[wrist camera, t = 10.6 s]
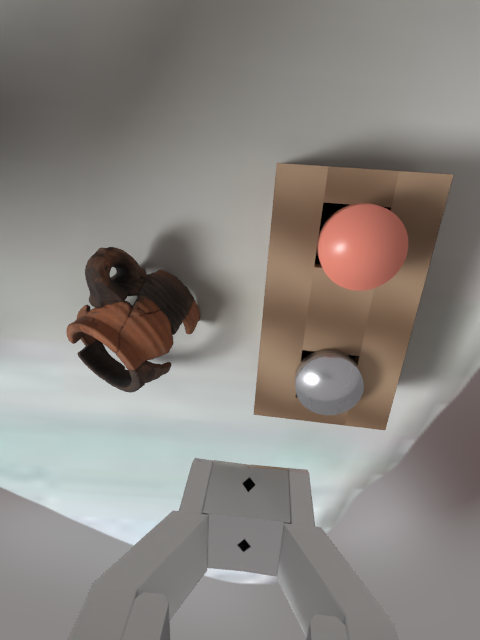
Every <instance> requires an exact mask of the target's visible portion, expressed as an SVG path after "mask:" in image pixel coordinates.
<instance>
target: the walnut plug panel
mask: <svg viewBox="0 0 480 640" xmlns="http://www.w3.org/2000/svg"><path fill="white" fill-rule="evenodd" d="M452 179H453V175H452V174H437V173H421V172H406V171H391V170H375V169H360V168H345V167H329V166H314V165H299V164H283V163H277V167H276V178H275V189H274V200H273V211H272V221H271V232H270V243H269V254H268V265H267V276H266V286H265V297H264V308H263V319H262V330H261V341H260V351H259V362H258V373H257V384H256V395H255V406H254V415H262V416H270V417H279V418H287V419H296V420H304V421H312V422H321V423H329V424H338V425H346V426H354V427H363V428H371V429H379V430H385V429H386V425H387V422H388V418H389V414H390V410H391V407H392V403H393V399H394V395H395V392H396V388H397V384H398V380H399V377H400V373H401V369H402V366H403V362H404V358H405V354H406V351H407V347H408V343H409V339H410V336H411V332H412V328H413V324H414V321H415V317H416V313H417V309H418V306H419V302H420V298H421V295H422V291H423V287H424V283H425V280H426V276H427V272H428V268H429V265H430V261H431V257H432V253H433V250H434V246H435V242H436V238H437V235H438V231H439V227H440V224H441V220H442V216H443V212H444V209H445V205H446V201H447V197H448V194H449V190H450V186H451V182H452ZM323 202H324V203H338V204H356V203H371V204H375V205H378V206H381V207H387V209H388V210H390V211H391V212H393V213H394V214H395V215H396V216H398V218H399V219H400V220H401V221H402V223H403V224H404V226H405V229H406V231H407V235H408V252H407V256H406V259H405V261H404V263H403V265H402V267H401V268H400V270H399V271H398V272H397V274H396V275H395V276H394V277H393V278H391V279H390V280H389V281H388V282H386V283H384V284H383V285H381V286H379V287H376V288H373V289H370V290H363V291H355V290H349V289H345V288H343V287H341V286H339V285H337V284H335V283H334V282H333V281H332V280H331V279H330V278H329V277H328V276H327V275H326V273H325V272H324V270H323V268H322V266H321V264H315V258H316V251H317V244H318V237H319V230H320V223H321V216H322V209H323ZM302 350H307V351H316V352H317V351H322V350H335V351H339V352H342V353H345V354H346V355H355V356H356V357H355V363H356V364H357V366H358V368H359V370H360V373H361V376H362V378H363V382H364V390H363V394H362V396H361V399H360V400H359V402H358V403H357V404H356V405H355V406H354V407H353V408H351V409H350V410H348V411H346V412H344V413H341V414H337V415H321V414H317V413H314V412H312V411H310V410H308V409H307V408H306V407H304V406H303V405H302V403H301V402H300V401H299V399H298V397H297V394H296V389H295V373H296V370H297V367H298V366H299V364H300V362H301V355H302Z"/></svg>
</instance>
